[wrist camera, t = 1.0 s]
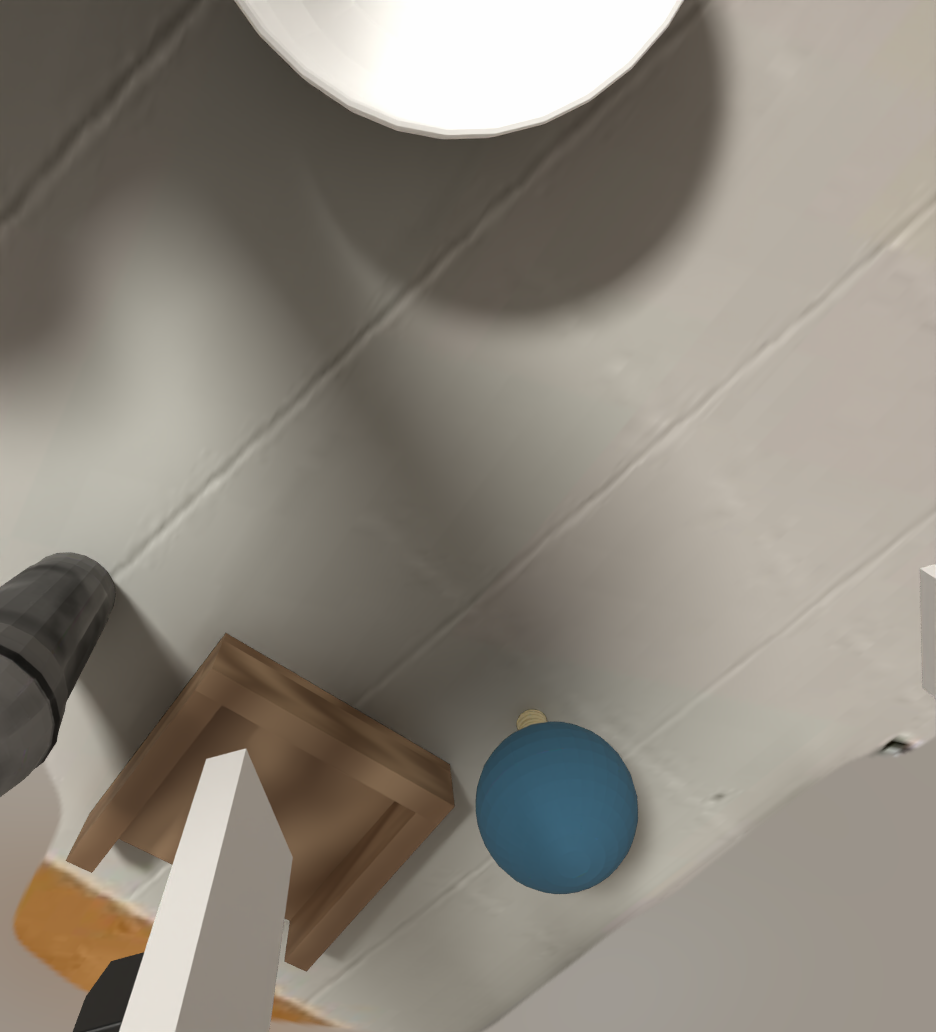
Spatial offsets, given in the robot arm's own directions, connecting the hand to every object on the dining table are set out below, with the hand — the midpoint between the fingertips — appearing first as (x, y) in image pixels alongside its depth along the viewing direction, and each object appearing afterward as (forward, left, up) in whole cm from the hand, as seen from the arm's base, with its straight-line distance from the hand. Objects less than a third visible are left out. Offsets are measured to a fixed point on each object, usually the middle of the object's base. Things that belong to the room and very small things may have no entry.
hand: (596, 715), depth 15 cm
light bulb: (+15, -13, -28) cm, 34 cm away
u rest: (+5, -26, -28) cm, 38 cm away
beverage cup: (-11, -21, -28) cm, 36 cm away
